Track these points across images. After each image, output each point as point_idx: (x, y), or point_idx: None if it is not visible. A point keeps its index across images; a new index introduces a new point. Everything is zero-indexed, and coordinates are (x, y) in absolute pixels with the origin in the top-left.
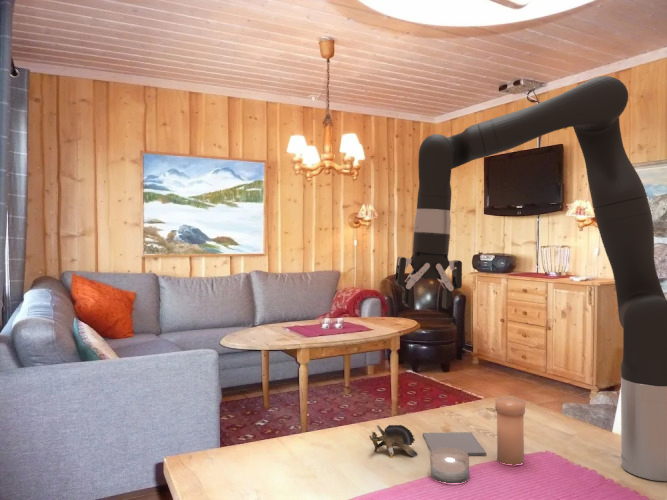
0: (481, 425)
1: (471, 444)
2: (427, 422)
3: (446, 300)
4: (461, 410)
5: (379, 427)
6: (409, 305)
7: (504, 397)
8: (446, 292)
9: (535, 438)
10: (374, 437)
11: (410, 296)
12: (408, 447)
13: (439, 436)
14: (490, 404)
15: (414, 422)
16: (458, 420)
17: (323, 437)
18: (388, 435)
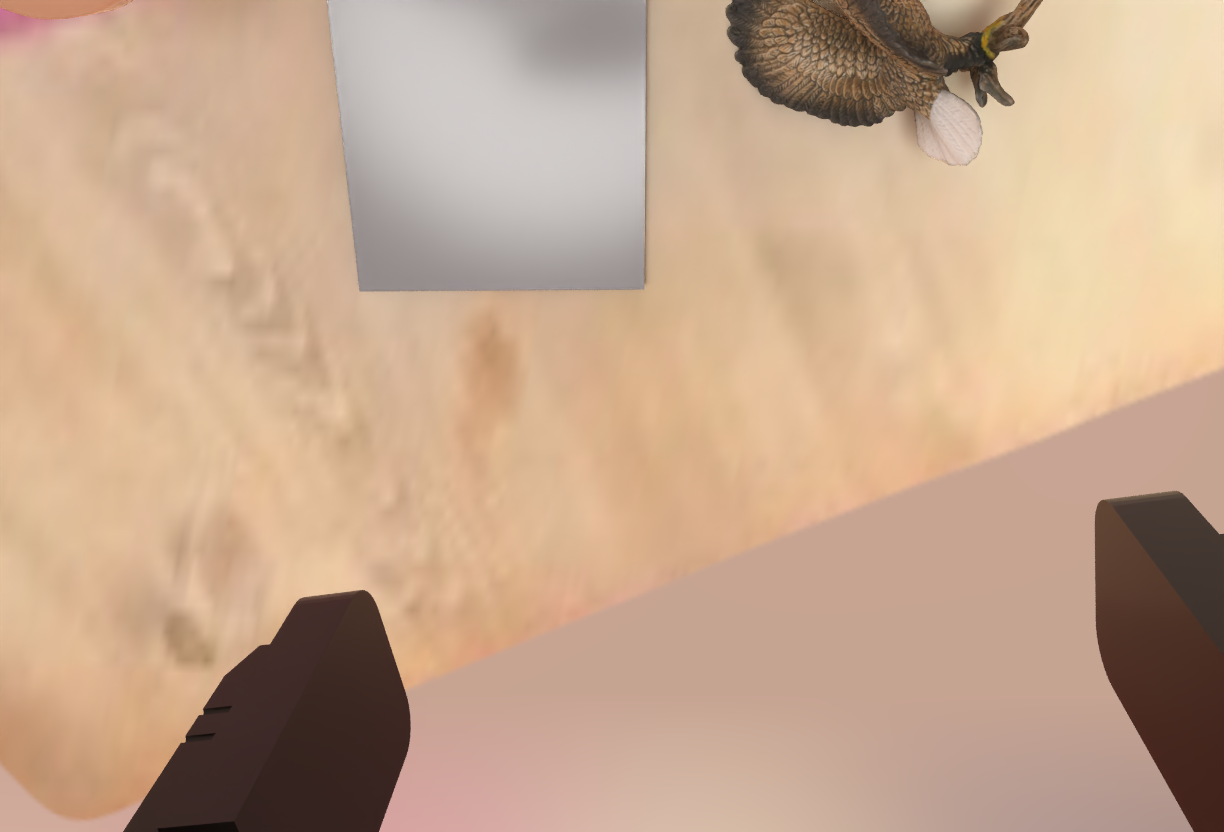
0: (281, 420)
1: (391, 108)
2: (580, 469)
3: (308, 669)
4: None
5: (972, 111)
6: (1133, 498)
7: (58, 15)
8: (252, 819)
9: (3, 228)
10: (1010, 28)
11: (1214, 604)
12: (783, 22)
13: (556, 233)
14: (179, 710)
15: (653, 471)
16: (399, 493)
17: (1217, 271)
18: (917, 48)
